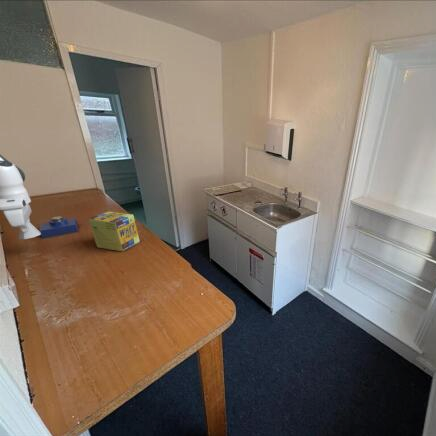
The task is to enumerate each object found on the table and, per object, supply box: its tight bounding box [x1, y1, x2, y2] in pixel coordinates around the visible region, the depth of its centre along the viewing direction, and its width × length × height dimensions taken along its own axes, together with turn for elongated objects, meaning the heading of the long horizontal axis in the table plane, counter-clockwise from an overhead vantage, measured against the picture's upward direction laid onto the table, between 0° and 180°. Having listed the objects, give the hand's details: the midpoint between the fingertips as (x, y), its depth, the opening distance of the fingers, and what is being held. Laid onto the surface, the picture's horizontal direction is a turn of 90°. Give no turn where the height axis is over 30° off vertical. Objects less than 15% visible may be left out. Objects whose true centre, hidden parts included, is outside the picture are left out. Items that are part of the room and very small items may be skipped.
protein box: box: [87, 211, 140, 252], centre depth 114 cm, size 10×15×16 cm
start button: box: [51, 215, 63, 222], centre depth 127 cm, size 4×4×2 cm
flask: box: [18, 220, 41, 240], centre depth 104 cm, size 7×7×10 cm
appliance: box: [38, 217, 79, 239], centre depth 127 cm, size 14×11×6 cm
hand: (27, 228), depth 104 cm, fingers closed on flask, 5 cm apart
